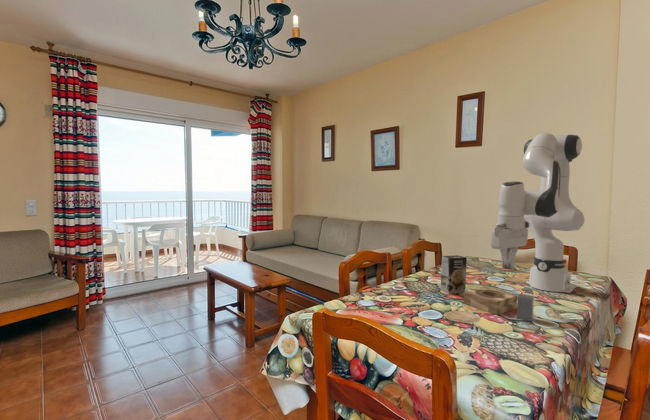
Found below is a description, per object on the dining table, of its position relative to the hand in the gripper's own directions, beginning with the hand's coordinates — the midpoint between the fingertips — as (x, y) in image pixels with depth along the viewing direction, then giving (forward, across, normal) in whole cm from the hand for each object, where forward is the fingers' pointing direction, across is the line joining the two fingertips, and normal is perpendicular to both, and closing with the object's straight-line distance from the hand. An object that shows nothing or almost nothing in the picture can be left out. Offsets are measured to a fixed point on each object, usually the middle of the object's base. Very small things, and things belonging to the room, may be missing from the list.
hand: (508, 258), depth 126 cm
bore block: (+20, -2, +5) cm, 21 cm away
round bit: (+4, 0, 0) cm, 4 cm away
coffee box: (+20, +2, +25) cm, 32 cm away
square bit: (+20, -4, -9) cm, 22 cm away
